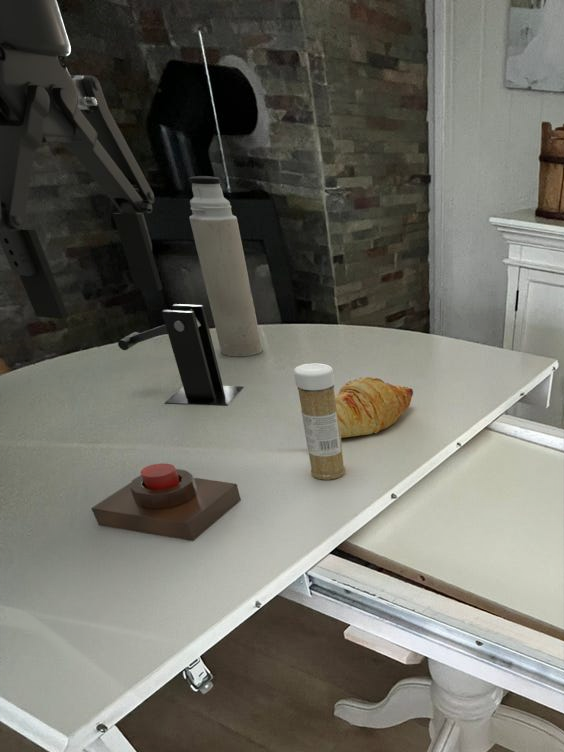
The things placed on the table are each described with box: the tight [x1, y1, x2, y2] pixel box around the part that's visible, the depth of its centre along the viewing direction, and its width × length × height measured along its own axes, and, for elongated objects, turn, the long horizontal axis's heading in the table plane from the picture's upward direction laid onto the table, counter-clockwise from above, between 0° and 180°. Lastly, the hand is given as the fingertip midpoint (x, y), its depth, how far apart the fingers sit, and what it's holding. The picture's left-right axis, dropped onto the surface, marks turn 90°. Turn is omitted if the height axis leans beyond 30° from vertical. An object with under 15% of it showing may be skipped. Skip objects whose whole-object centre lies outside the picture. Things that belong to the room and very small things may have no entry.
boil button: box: [140, 462, 180, 490], centre depth 66 cm, size 4×4×2 cm
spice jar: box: [293, 363, 346, 481], centre depth 74 cm, size 5×5×13 cm
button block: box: [91, 468, 242, 542], centre depth 68 cm, size 12×10×4 cm
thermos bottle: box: [189, 175, 263, 358], centre depth 110 cm, size 8×8×28 cm
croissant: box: [334, 377, 414, 439], centre depth 90 cm, size 21×10×8 cm, turn 144°
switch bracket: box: [161, 303, 245, 407], centre depth 93 cm, size 10×9×14 cm
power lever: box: [117, 309, 201, 351], centre depth 90 cm, size 12×5×2 cm, turn 91°
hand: (105, 302), depth 58 cm, fingers open, 13 cm apart
